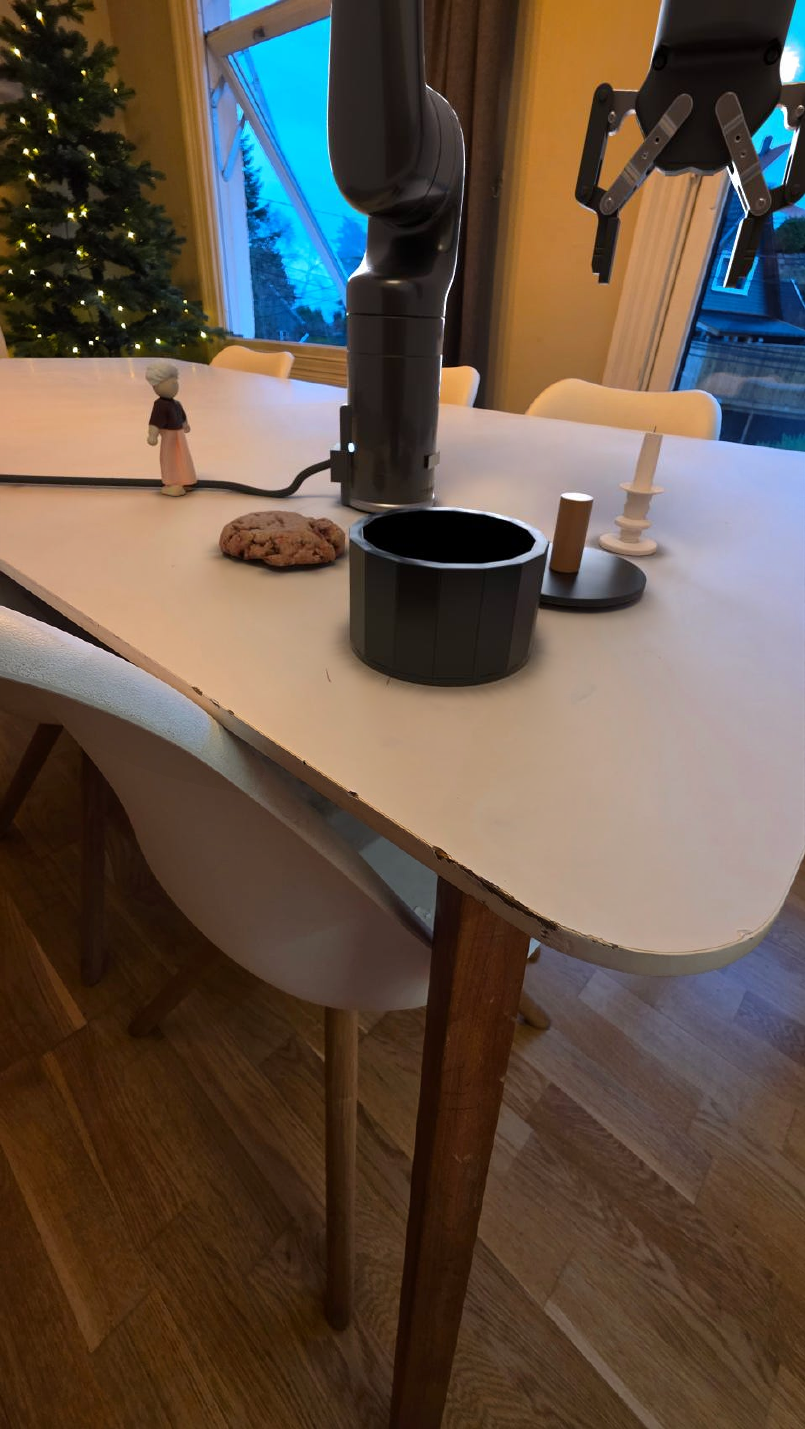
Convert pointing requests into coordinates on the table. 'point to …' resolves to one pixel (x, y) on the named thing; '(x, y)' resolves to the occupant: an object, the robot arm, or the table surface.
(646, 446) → the candle
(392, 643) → the tin
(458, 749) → the table surface
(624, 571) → the tin lid
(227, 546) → the cookie
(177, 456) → the grandmother figurine
